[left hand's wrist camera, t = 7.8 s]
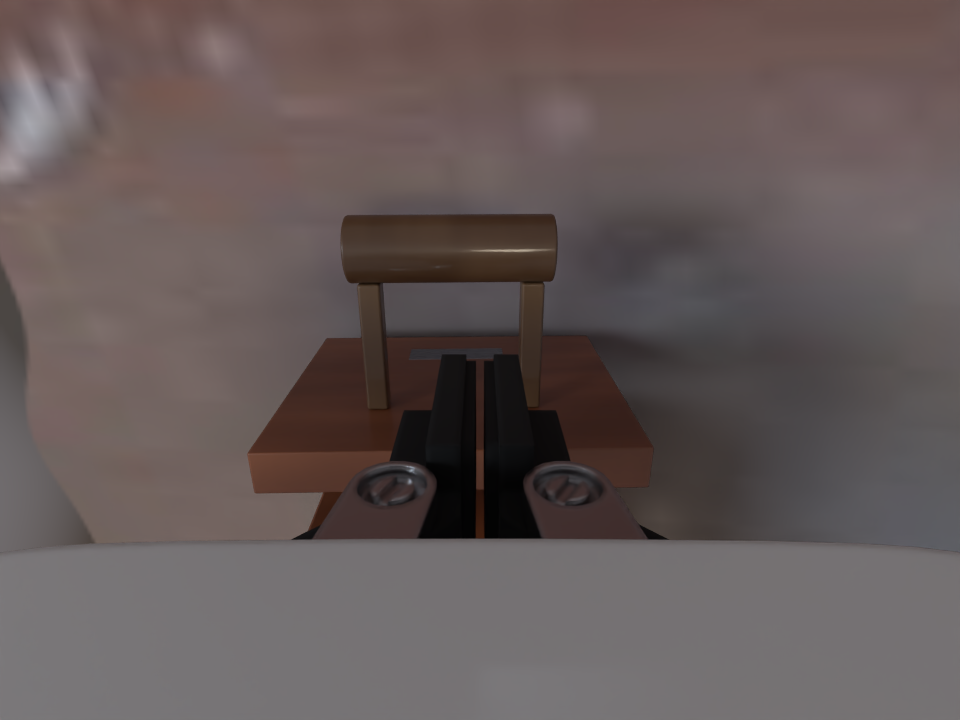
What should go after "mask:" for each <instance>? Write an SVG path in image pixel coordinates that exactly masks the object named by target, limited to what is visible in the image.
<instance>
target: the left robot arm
mask: <svg viewBox="0 0 960 720" xmlns="http://www.w3.org/2000/svg"><path fill="white" fill-rule="evenodd" d="M0 720H960V553H959V552H953V551H946V550H937V549H929V548H920V547H910V546H894V545H878V544H862V543H828V542H791V541H744V540H668V539H666V538H665V537H663V536H661V535H659V534H657V533H655V532H653V531H651V530H649V529H647V528H645V527H643V526H641V525H639V524H638V523H637V521H636V520H635V518H634V517H633V515H632V514H631V512H630V511H629V509H628V507H627V506H626V504H625V503H624V501H623V500H622V498H621V497H620V495H619V494H618V492H617V491H616V489H615V487H614V486H613V484H612V483H611V481H610V480H609V479H608V478H607V477H606V476H605V475H604V474H603V473H602V472H600V471H598V470H597V469H595V468H593V467H590V466H588V465H585V464H582V463H577V462H571V460H570V457H569V453H568V450H567V446H566V443H565V439H564V436H563V432H562V429H561V425H560V422H559V418H558V415H557V412H556V410H528V406H527V401H526V395H525V390H524V384H523V378H522V373H521V367H520V362H519V356H518V354H494V356H493V361H484V539H476V361H467V356H466V354H442V356H441V362H440V367H439V373H438V378H437V384H436V390H435V395H434V401H433V406H432V410H404V412H403V415H402V418H401V422H400V425H399V429H398V432H397V436H396V439H395V443H394V446H393V450H392V453H391V457H390V460H389V462H383V463H378V464H375V465H372V466H370V467H367V468H365V469H363V470H362V471H360V472H358V473H357V474H356V475H355V476H354V477H353V478H352V479H351V480H350V481H349V483H348V484H347V486H346V487H345V489H344V491H343V492H342V494H341V495H340V497H339V498H338V500H337V501H336V503H335V504H334V506H333V507H332V509H331V511H330V512H329V514H328V515H327V517H326V518H325V520H324V521H323V523H322V524H321V525H319V526H317V527H315V528H313V529H311V530H309V531H307V532H305V533H303V534H301V535H299V536H297V537H295V538H294V539H292V540H229V541H165V542H132V543H100V544H80V545H66V546H52V547H39V548H31V549H23V550H16V551H9V552H1V553H0Z"/></svg>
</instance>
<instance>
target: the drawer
mask: <svg viewBox="0 0 960 720" xmlns="http://www.w3.org/2000/svg"><path fill="white" fill-rule="evenodd" d="M341 257H342V265H343V270H344V274H345V277H346V279H347V281H348V282H349V283H359V284H358V286H357V291H358V303H359V314H360V325H361V337H362V338H327V339H326V340H325V342H324V343H323V345H322V346H321V347H320V349H319V350H318V352H317V353H316V355H315V356H314V358H313V359H312V360H311V362H310V363H309V365H308V366H307V368H306V369H305V371H304V372H303V374H302V375H301V376H300V378H299V379H298V381H297V382H296V384H295V385H294V387H293V388H292V389H291V391H290V392H289V394H288V395H287V397H286V398H285V400H284V401H283V403H282V404H281V405H280V407H279V408H278V410H277V411H276V413H275V414H274V416H273V417H272V418H271V420H270V421H269V423H268V424H267V426H266V427H265V429H264V430H263V432H262V433H261V434H260V436H259V437H258V439H257V440H256V442H255V443H254V445H253V446H252V447H251V449H250V450H249V452H248V454H247V455H248V460H249V466H250V471H251V476H252V482H253V487H254V492H255V493H307V492H323V495H322V497H321V500H320V502H319V505H318V507H317V510H316V512H315V515H314V517H313V520H312V522H311V525H310V527H309V530H311V529H313V528H315V527H317V526H319V525H321V524H322V523H323V521H324V520H325V518H326V517H327V515H328V514H329V512H330V511H331V509H332V507H333V506H334V504H335V503H336V501H337V500H338V498H339V497H340V495H341V494H342V492H343V491H344V489H345V487H346V486H347V484H348V483H349V481H350V480H351V479H352V478H353V477H354V476H355V475H356V474H357V473H358V472H360V471H362V470H363V469H365V468H367V467H370V466H372V465H375V464H378V463H383V462H389V460H390V457H391V453H392V450H393V446H394V443H395V439H396V436H397V432H398V429H399V425H400V422H401V418H402V415H403V412H404V410H432V406H433V401H434V395H435V390H436V384H437V378H438V373H439V367H440V362H441V356H442V354H466V356H467V361H476V539H484V361H493V356H494V354H518V356H519V362H520V367H521V373H522V378H523V384H524V390H525V395H526V401H527V406H528V410H556V412H557V415H558V418H559V422H560V425H561V429H562V432H563V436H564V439H565V443H566V446H567V450H568V453H569V457H570V460H571V462H577V463H582V464H585V465H588V466H590V467H593V468H595V469H597V470H598V471H600V472H602V473H603V474H604V475H605V476H606V477H607V478H608V479H609V480H610V481H611V483H612V484H613V486H614V487H615V488H623V487H648V486H649V481H650V474H651V466H652V458H653V451H654V447H653V445H652V444H651V442H650V440H649V439H648V437H647V435H646V434H645V432H644V430H643V429H642V427H641V425H640V424H639V422H638V420H637V419H636V417H635V415H634V414H633V412H632V410H631V409H630V407H629V405H628V404H627V402H626V401H625V399H624V397H623V396H622V394H621V392H620V391H619V389H618V387H617V386H616V384H615V382H614V381H613V379H612V377H611V376H610V374H609V372H608V371H607V369H606V367H605V366H604V364H603V362H602V361H601V359H600V357H599V356H598V354H597V352H596V351H595V349H594V347H593V346H592V344H591V342H590V341H589V339H588V337H587V336H542V335H543V311H544V287H545V285H544V283H543V282H550V281H552V280H553V278H554V275H555V271H556V264H557V226H556V220H555V217H554V215H552V214H462V215H347V216H345V217H344V219H343V223H342V227H341ZM440 282H520V310H519V336H501V337H405V338H386V323H385V309H384V295H383V283H440ZM309 530H308V531H309Z"/></svg>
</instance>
